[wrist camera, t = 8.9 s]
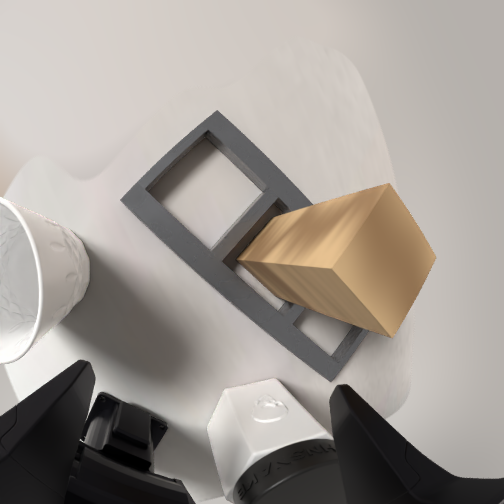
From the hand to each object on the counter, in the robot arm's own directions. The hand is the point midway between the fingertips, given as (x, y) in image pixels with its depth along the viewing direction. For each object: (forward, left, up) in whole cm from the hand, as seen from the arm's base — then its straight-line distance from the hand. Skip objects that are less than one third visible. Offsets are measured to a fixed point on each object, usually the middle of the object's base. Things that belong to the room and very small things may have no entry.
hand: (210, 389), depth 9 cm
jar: (-6, -10, -12) cm, 17 cm away
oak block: (+7, -4, -12) cm, 15 cm away
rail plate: (+7, -4, -12) cm, 15 cm away
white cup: (-3, +11, -12) cm, 17 cm away
